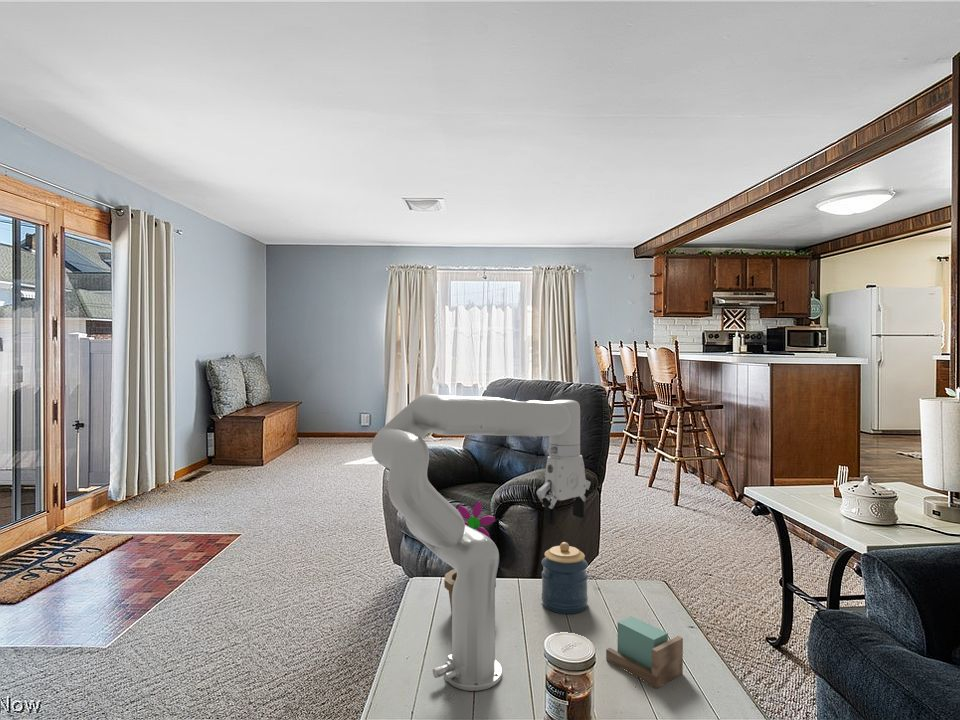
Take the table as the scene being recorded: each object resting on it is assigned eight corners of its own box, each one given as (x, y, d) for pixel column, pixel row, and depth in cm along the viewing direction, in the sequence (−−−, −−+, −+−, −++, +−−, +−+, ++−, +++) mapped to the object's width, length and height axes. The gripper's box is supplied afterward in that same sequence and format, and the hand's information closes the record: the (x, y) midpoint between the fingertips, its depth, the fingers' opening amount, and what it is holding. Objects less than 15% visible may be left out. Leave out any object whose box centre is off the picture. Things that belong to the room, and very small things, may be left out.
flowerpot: (501, 605, 158) (501, 499, 158) (489, 629, 144) (489, 513, 144) (452, 599, 162) (452, 496, 161) (436, 623, 148) (436, 510, 147)
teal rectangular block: (653, 680, 122) (654, 639, 122) (617, 660, 130) (617, 622, 130) (667, 673, 125) (667, 633, 125) (631, 653, 133) (631, 616, 133)
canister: (556, 618, 150) (556, 553, 150) (533, 599, 162) (533, 538, 162) (597, 609, 155) (597, 546, 155) (571, 591, 167) (571, 532, 167)
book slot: (656, 688, 119) (656, 651, 119) (606, 660, 130) (606, 625, 130) (682, 673, 124) (682, 638, 124) (632, 647, 136) (632, 614, 135)
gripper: (549, 456, 129) (549, 530, 129) (600, 449, 139) (600, 517, 139) (527, 452, 135) (527, 522, 135) (578, 445, 145) (578, 510, 145)
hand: (564, 520), depth 137 cm, fingers open, 9 cm apart
